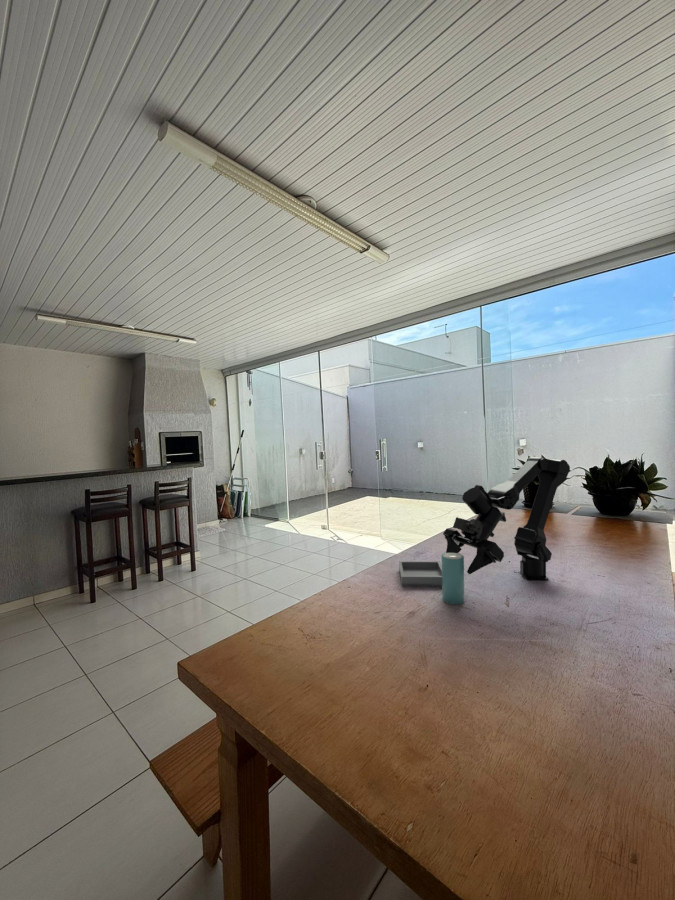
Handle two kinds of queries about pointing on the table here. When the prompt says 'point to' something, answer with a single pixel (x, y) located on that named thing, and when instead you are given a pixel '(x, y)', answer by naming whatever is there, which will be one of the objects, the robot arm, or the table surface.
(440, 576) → the tray
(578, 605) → the table surface
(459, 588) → the teal cylinder
